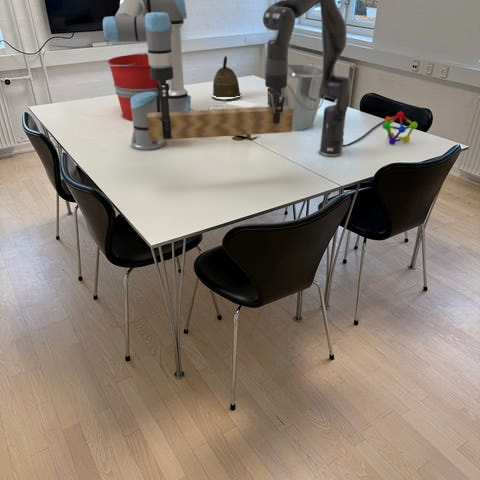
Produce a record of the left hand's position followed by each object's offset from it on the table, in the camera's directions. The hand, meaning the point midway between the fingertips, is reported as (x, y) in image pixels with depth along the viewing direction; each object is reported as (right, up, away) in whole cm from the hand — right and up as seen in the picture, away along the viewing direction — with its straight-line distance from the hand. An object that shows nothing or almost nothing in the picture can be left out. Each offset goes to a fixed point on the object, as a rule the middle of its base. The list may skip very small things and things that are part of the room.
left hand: (166, 135), depth 156 cm
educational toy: (+100, +9, +55) cm, 114 cm away
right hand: (+38, +7, +5) cm, 39 cm away
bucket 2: (+55, +24, +77) cm, 98 cm away
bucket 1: (-27, +34, +93) cm, 102 cm away
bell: (+17, +54, +126) cm, 138 cm away
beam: (+19, +1, +4) cm, 19 cm away
